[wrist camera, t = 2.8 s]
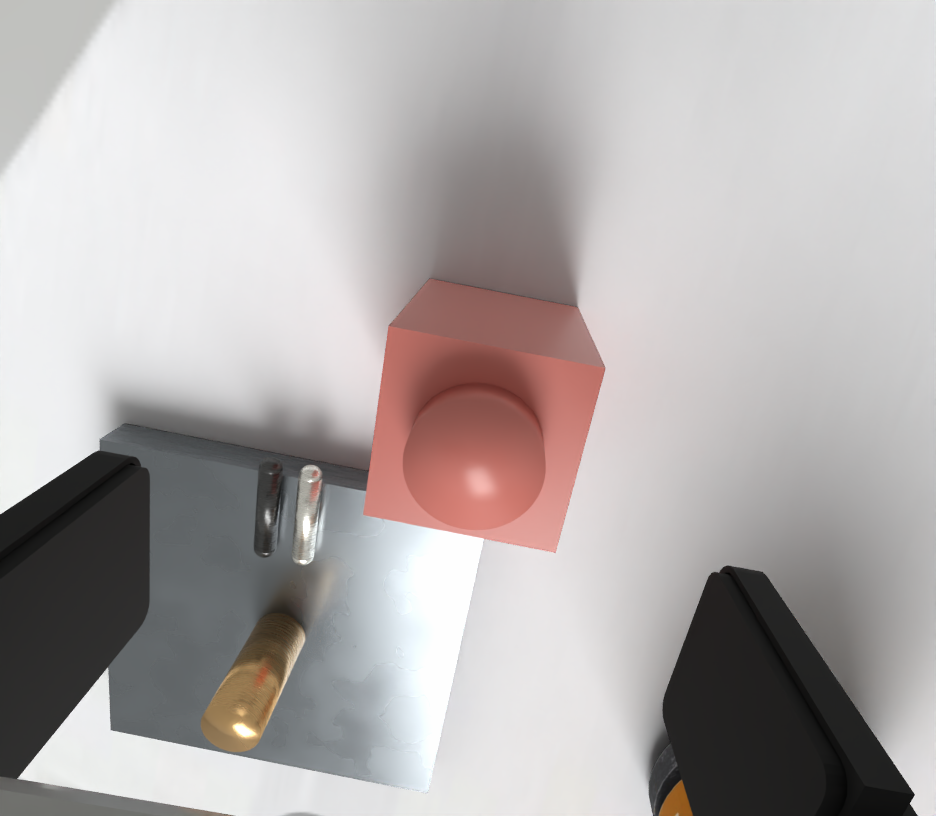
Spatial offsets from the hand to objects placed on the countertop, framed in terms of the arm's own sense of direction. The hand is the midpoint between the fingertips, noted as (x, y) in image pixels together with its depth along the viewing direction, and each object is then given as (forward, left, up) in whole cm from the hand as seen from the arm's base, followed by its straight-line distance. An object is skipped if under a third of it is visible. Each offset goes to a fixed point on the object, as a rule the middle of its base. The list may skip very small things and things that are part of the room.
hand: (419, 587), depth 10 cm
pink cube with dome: (0, +1, -12) cm, 12 cm away
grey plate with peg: (+12, -5, -12) cm, 18 cm away
